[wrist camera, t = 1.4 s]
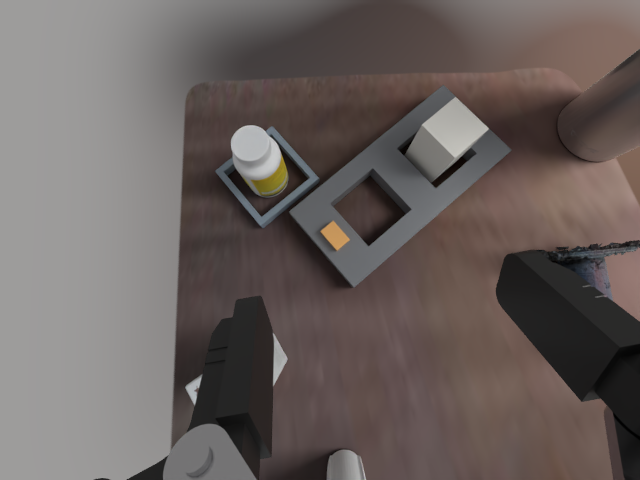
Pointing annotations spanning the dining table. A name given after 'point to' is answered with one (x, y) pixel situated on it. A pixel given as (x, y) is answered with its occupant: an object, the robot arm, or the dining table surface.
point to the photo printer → (345, 466)
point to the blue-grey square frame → (287, 201)
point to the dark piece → (591, 262)
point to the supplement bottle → (259, 161)
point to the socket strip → (402, 181)
